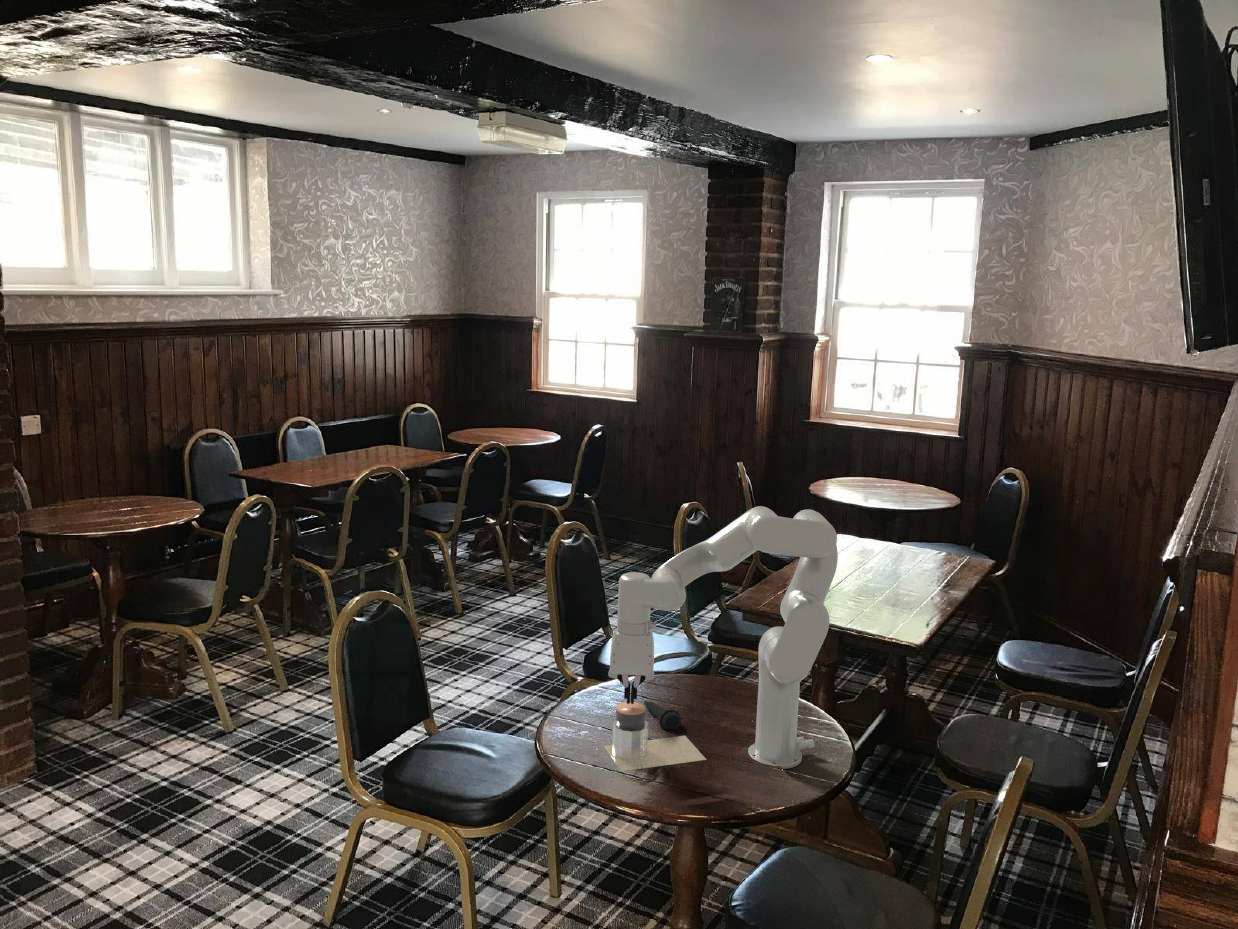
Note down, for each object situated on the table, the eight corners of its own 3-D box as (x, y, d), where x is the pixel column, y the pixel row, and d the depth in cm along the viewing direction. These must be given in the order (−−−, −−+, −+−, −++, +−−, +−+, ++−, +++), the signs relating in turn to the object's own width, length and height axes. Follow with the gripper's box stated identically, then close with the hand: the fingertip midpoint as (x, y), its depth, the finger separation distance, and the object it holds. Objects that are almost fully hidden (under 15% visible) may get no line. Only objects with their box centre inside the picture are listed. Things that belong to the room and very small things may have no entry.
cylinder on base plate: (684, 739, 242) (686, 708, 241) (706, 763, 230) (707, 731, 229) (603, 750, 235) (604, 718, 234) (621, 775, 223) (622, 742, 222)
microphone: (639, 716, 262) (668, 739, 244) (632, 696, 262) (661, 718, 243) (657, 707, 264) (687, 730, 245) (651, 688, 263) (680, 709, 244)
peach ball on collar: (638, 728, 236) (639, 700, 235) (648, 740, 230) (649, 712, 229) (611, 731, 234) (612, 703, 233) (620, 744, 228) (621, 715, 226)
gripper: (665, 622, 231) (662, 696, 234) (601, 619, 231) (599, 694, 234) (666, 633, 223) (662, 709, 227) (600, 630, 224) (597, 707, 227)
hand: (630, 701), depth 230 cm, fingers closed
